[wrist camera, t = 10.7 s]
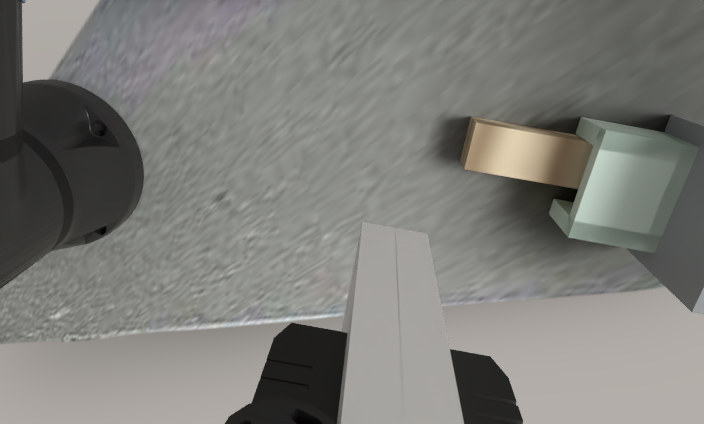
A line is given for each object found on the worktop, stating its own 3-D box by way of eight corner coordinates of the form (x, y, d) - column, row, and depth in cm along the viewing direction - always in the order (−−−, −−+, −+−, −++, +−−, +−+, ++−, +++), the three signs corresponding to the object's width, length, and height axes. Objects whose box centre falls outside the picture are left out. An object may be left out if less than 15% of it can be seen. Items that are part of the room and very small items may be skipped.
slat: (459, 159, 46) (464, 169, 44) (470, 115, 45) (476, 122, 42) (613, 186, 47) (627, 197, 44) (629, 143, 45) (645, 152, 42)
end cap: (543, 228, 48) (592, 294, 37) (586, 99, 44) (656, 128, 32) (633, 244, 48) (708, 315, 37) (684, 117, 44) (788, 152, 32)
